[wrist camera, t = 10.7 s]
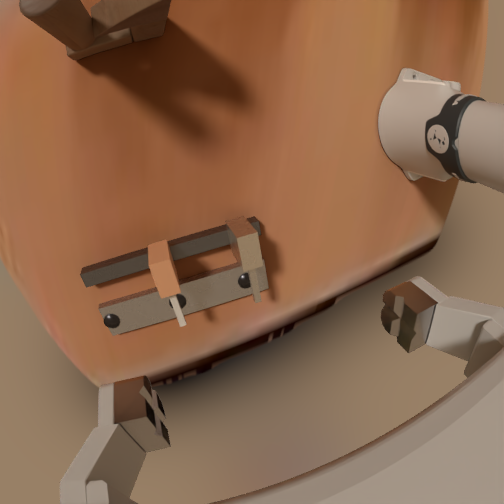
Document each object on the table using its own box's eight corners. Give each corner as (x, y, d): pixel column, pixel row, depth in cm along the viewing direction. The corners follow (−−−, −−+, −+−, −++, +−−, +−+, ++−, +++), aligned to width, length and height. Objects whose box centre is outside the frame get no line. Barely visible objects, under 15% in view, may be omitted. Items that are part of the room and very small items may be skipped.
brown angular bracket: (164, 36, 29) (178, -24, 13) (74, 61, 27) (16, 27, 11) (159, 9, 27) (172, -63, 11) (70, 35, 25) (15, -15, 9)
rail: (252, 208, 41) (272, 227, 35) (263, 271, 46) (282, 298, 40) (78, 260, 37) (68, 289, 31) (106, 318, 42) (103, 352, 35)
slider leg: (166, 239, 37) (169, 259, 33) (187, 303, 42) (194, 328, 38) (147, 245, 37) (148, 265, 32) (171, 308, 42) (175, 334, 37)
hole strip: (261, 255, 45) (264, 259, 44) (265, 284, 47) (269, 289, 46) (98, 304, 40) (97, 310, 39) (111, 330, 43) (111, 336, 41)
